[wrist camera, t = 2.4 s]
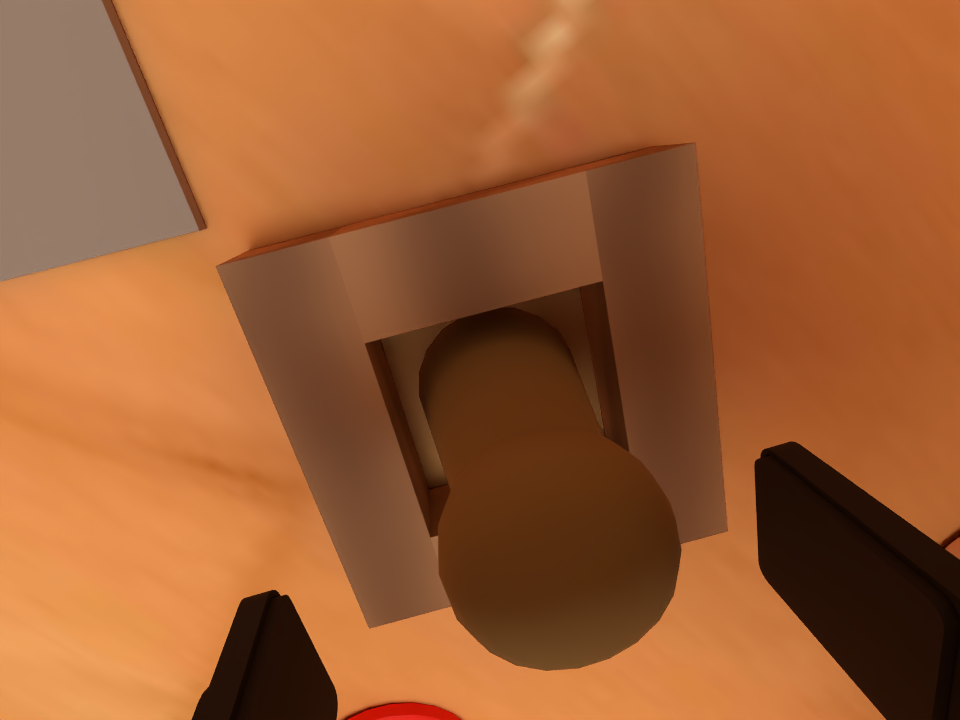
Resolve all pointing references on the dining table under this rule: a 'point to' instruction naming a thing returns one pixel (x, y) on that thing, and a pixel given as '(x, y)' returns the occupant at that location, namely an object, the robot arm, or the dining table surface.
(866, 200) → the dining table surface
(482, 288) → the walnut holder
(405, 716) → the tow hook
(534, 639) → the cork
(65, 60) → the slate mat
